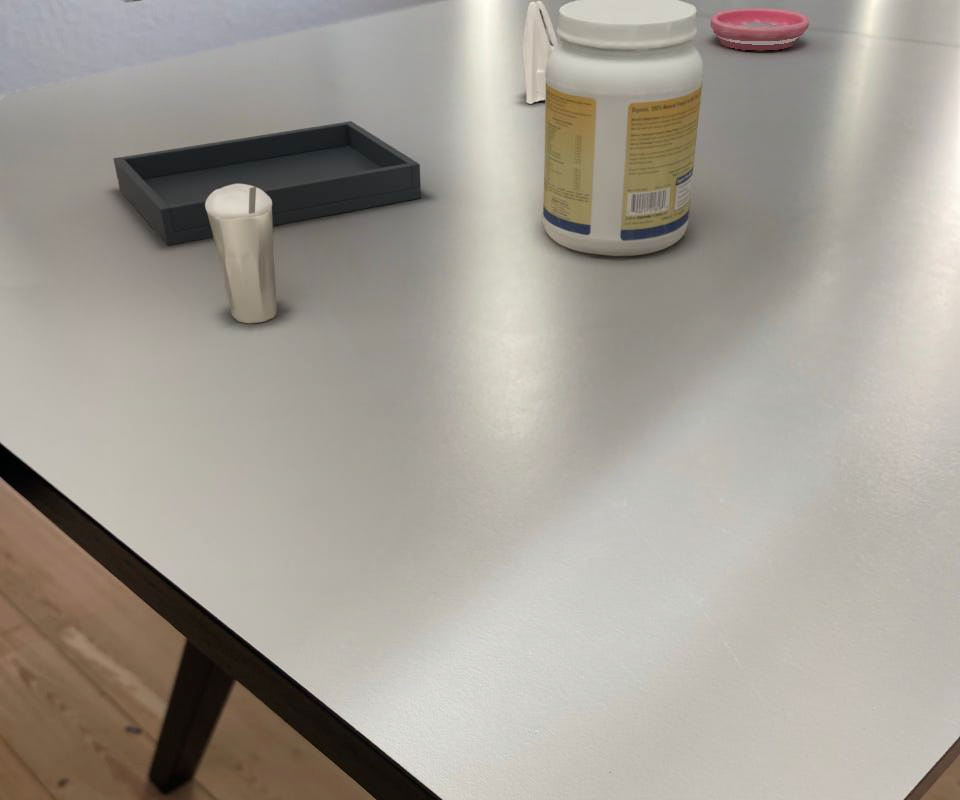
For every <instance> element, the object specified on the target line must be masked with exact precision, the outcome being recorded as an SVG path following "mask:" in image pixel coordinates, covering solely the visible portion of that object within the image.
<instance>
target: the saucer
mask: <svg viewBox="0 0 960 800" xmlns="http://www.w3.org/2000/svg"><path fill="white" fill-rule="evenodd" d="M749 23H766V24H773V25H783V26H778V27H749V26H739V25H744V24H749ZM809 25H810V18H809V17H808V16H807V15H805V14H803V13H801V12H797V11H792V10H787V9H778V8H738V9H737V8H735V9H729V10H723V11H720V12H718V13H715V14H714V15H712V16H711V18H710V28H711V29H712V31H713V33H714V35H715V34H716V35H715V36H716V37H717V38H718V40H719V43H720V44H721V45H722V46H724V47H726V48H729V47H730V48H729V49H732V48H735V49H734V50H738V49H741V50H740V51H745V50H775V51H780V50H779V49H782V50H786V49H789V48H790V47H793V46H794V45H795V43H796V41H797V40H795V41H792V42H789V43H784V44H774V45H752V44H741V43H735V42H730V41H726V40H723V39H721V38H719V37H722V38H726V39H732V40H740V41H780V40H781V41H782V40H787V39H793V38H796V37H799V36H801V35H802V36H803V35H804V33H805V32H806V31H807V30H808V28H809ZM718 36H719V37H718ZM802 36H801V37H802ZM799 38H800V37H799ZM788 47H789V48H788ZM785 48H786V49H785Z"/></svg>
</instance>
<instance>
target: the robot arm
mask: <svg viewBox="0 0 960 800" xmlns="http://www.w3.org/2000/svg"><path fill="white" fill-rule="evenodd" d="M121 1H122V2H123V3H133V2H140V1H142V0H121Z"/></svg>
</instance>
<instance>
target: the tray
mask: <svg viewBox="0 0 960 800" xmlns="http://www.w3.org/2000/svg"><path fill="white" fill-rule="evenodd" d="M112 159H113V164H114V168H115V173H116V178H117V183H118V187H119V192H120V193H121V194H122V195H123V196H124V197H125V198H126V200H127V201H128V202H129V203H130V204H131V205H132V207H133V208H134V209H135V210H136V211H137V212H138V213H139V214H140V216H141V217H142V218H143V219H144V220H145V221H146V223H147V224H148V225H149V226H150V228H151V229H153V230H154V232H155V233H156V234H157V235H158V236H159V237H160V239H161V240H162V241H163V242H164V243H165V244H166V245H167V246H172V245H178V244H182V243H188V242H189V243H190V242H192V241H193V242H194V241H199V240H204V239H205V240H206V239H209V238H214V237H213V234H212V230H211V226H210V222H209V218H208V215H207V211H206V208H205V202H206V200H207V198H208V197H209V195H210V194H211V193H212V192H213V191H215V190H217V189H221V188H222V187H225V186H228V185H232V184H246V185H251V186H254V187H257V188H259V189H261V190H262V191H264V192H265V193H266V194H267V195H268V196H269V197H270V198H271V200H272V218H273V227H274V226H279V225H284V224H290V223H294V222H300V221H306V220H311V219H316V218H321V217H327V216H332V215H337V214H342V213H348V212H354V211H359V210H364V209H370V208H375V207H381V206H385V205H392V204H396V203H402V202H407V201H412V200H417V199H421V198H422V190H421V187H422V186H421V164H420V163H419V162H417V161H415V160H414V159H412V158H411V157H409V156H408V155H406V154H404V153H403V152H402V151H399V150H398V149H396V148H394V147H393V146H392V145H390V144H388V143H387V142H386V141H384V140H382V139H380V138H379V137H378V136H376V135H374V134H373V133H370V131H368V130H366V129H365V128H363V127H362V126H360V125H358V124H357V123H355V122H353V121H352V120H349V121H343V122H337V123H336V122H335V123H331V124H324V125H319V126H312V127H305V128H299V129H291V130H286V131H279V132H274V133H266V134H261V135H254V136H247V137H241V138H235V139H228V140H222V141H216V142H215V141H214V142H209V143H203V144H196V145H190V146H184V147H178V148H177V147H176V148H171V149H165V150H158V151H152V152H144V153H140V154H131V155H126V156H120V157H119V156H118V157H114V158H112Z"/></svg>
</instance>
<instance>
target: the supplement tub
mask: <svg viewBox="0 0 960 800" xmlns="http://www.w3.org/2000/svg"><path fill="white" fill-rule="evenodd" d="M697 12H698V11H697V8H696V7H695V6H694V5H693V4H690V3H688V2H685V1H682V0H574V1H570V2H568V3H565V4H563V5H562V6H560V7H559V10H558V26H557V28H556V33H555V34H556V35H557V37H558V38H559V39H560V41H561V42H560V43H558V46H557V47H556V48H555V49H554V50H553V51H552V53H551V54H550V56H549V58H548V61H547V65H546V72H545V77H546V88H545V100H544V113H545V114H544V163H543V165H544V167H543V199H542V200H543V202H542V203H543V205H542V222H543V227H544V229H545V231H546V233H547V235H548V236H549V237H550V239H552V240H553V241H554V242H555V243H557V244H559V245H560V246H562V247H565V248H567V249H569V250H573V251H576V252H579V253H585V254H589V255H599V256H608V257H633V256H641V255H646V254H647V255H648V254H652V253H656V252H659V251H662V250H665V249H667V248H668V247H671V246H673V245H674V244H676V243H677V242H678V241H680V240H681V238H683V236H684V235H685V234H686V231H687V229H686V228H688V223H689V220H690V209H691V197H692V187H693V177H694V168H695V167H694V166H695V157H696V147H697V139H698V138H697V137H698V127H699V118H700V110H701V99H702V90H703V89H702V87H703V80H704V61H703V59H702V56H701V53H700V52H699V50H698V49H697V48H696V47H695V46H694V45H693V44H691V43H692V42H693V39H694V38H696V36H697V34H698V28H697V26H696V25H697ZM685 230H686V231H685ZM684 231H685V232H684ZM683 232H684V233H683ZM682 233H683V234H682ZM681 234H682V235H681ZM679 235H681V236H679ZM678 236H679V237H678ZM677 237H678V238H677ZM675 238H676V239H675ZM673 239H674V240H673ZM670 240H672V241H670ZM668 241H669V242H668Z"/></svg>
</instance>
